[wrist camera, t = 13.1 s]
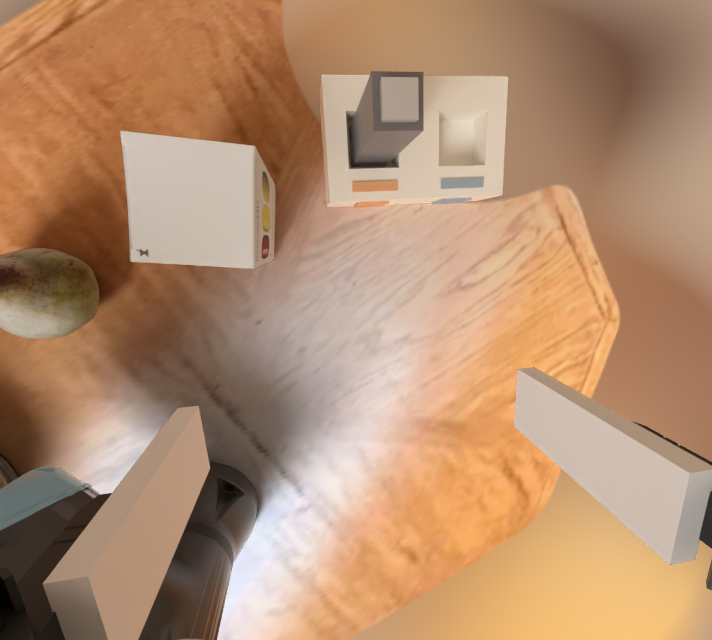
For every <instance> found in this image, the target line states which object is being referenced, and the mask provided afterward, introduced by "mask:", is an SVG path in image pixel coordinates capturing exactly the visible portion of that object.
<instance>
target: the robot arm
mask: <svg viewBox="0 0 712 640" xmlns="http://www.w3.org/2000/svg"><path fill="white" fill-rule="evenodd" d="M514 427H515V428H517V429H518V430H519V431H520V432H521V433H522V434H523V435H524V436H526V437H527V438H528V439H529V440H530V441H531V442H532V443H533V444H535V445H536V446H537V447H538V448H539V449H540V450H541V451H542V452H544V453H545V454H546V455H547V456H548V457H549V458H550V459H551V460H553V461H554V462H555V463H556V464H557V465H558V466H559V467H560V468H561V469H563V470H564V471H565V472H566V473H567V474H568V475H569V476H571V477H572V478H573V479H574V480H575V481H576V482H577V483H578V484H579V485H581V486H582V487H583V488H584V489H585V490H586V491H587V492H588V493H590V494H591V495H592V496H593V497H594V498H596V500H597V501H599V502H600V503H601V504H602V505H603V506H604V507H605V508H607V509H608V510H609V511H610V512H611V513H612V514H613V515H614V516H615V517H617V518H618V519H619V520H620V521H621V522H622V523H623V524H624V525H625V526H627V527H628V528H629V529H630V530H631V531H632V532H633V533H635V534H636V535H637V536H638V537H639V538H640V539H641V540H642V541H643V542H645V543H646V544H647V545H648V546H649V547H650V548H651V549H652V550H654V551H655V552H656V553H657V554H658V555H659V556H660V557H661V558H663V559H664V560H665V561H666V562H667V563H668V564H669V565H672V564H677V563H682V562H686V561H691V560H695V558H696V554H697V550H698V546H699V542H700V540H701V541H703V542H704V543H705V544H706V545H708V546H709V547H710V548H712V462H710V461H709V460H707V459H705V458H703V457H701V456H699V455H698V454H696V453H694V452H692V451H690V450H688V449H686V448H685V447H683V446H678V444H677V443H676V442H674V441H672V440H670V439H668V438H664V437H663V436H662V435H661V434H659V433H657V432H655V431H653V430H652V429H650V428H648V427H646V426H644V425H641V424H638V423H636V422H633V421H630V420H628V419H627V418H625V417H623V416H621V415H619V414H618V413H616V412H614V411H612V410H610V409H609V408H607V407H605V406H603V405H601V404H599V403H598V402H596V401H594V400H592V399H590V398H589V397H587V396H585V395H583V394H581V393H580V392H578V391H576V390H574V389H572V388H571V387H569V386H567V385H565V384H563V383H562V382H560V381H558V380H556V379H554V378H553V377H551V376H549V375H547V374H545V373H544V372H542V371H540V370H538V369H536V368H535V367H533V368H524V369H518V377H517V391H516V406H515V420H514ZM91 486H92V485H91V484H89V483H83V482H82V481H80V480H78V479H77V478H75V477H74V476H72V475H71V474H69V473H68V472H66V471H65V470H63V469H61V468H59V467H56V466H42V467H38V468H35V469H33V470H31V471H29V472H27V473H25V474H23V475H22V476H20V477H19V478H17V479H15V480H14V481H12V482H11V483H9V484H7V485H6V486H4V487H3V488H1V489H0V640H217V636H218V632H219V627H220V622H221V618H222V613H223V608H224V603H225V599H226V594H227V589H228V585H229V580H230V575H231V571H232V566H233V562H234V561H235V559H236V558H237V556H238V554H239V553H240V551H241V549H242V548H243V546H244V544H245V542H246V541H247V539H248V538H249V536H250V534H251V532H252V530H253V527H254V524H255V520H256V514H257V508H258V501H257V496H256V492H255V490H254V488H253V486H252V484H251V483H250V482H249V481H248V479H247V478H246V477H245V476H243V475H242V474H241V473H240V472H238V471H236V470H235V469H233V468H231V467H228V466H225V465H222V464H218V463H211V462H209V459H208V453H207V448H206V443H205V437H204V432H203V426H202V421H201V416H200V410H199V406H192V407H183V408H177V409H176V411H175V412H174V413H173V414H172V416H171V417H170V418H169V420H168V421H167V422H166V424H165V425H164V426H163V427H162V429H161V430H160V431H159V433H158V434H157V435H156V437H155V438H154V439H153V441H152V442H151V443H150V444H149V446H148V447H147V448H146V450H145V451H144V452H143V454H142V455H141V456H140V457H139V459H138V460H137V461H136V463H135V464H134V465H133V467H132V468H131V469H130V471H129V472H128V473H127V474H126V476H125V477H124V478H123V480H122V481H121V482H120V484H119V485H118V486H117V487H116V489H115V490H114V491H113V493H109V494H102V495H100V494H99V493H98V492H96V491H95V490H94V489H93V488H91ZM706 584H707V588H708V589H710V590H712V561H711V565H710V568H709V573H708V577H707V580H706Z"/></svg>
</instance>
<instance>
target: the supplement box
mask: <svg viewBox="0 0 712 640" xmlns="http://www.w3.org/2000/svg"><path fill="white" fill-rule="evenodd" d="M120 134H121V142H122V151H123V161H124V171H125V181H126V192H127V204H128V220H129V239H130V261H131V262H144V263H163V264H182V265H198V266H212V267H229V268H248V269H255V268H257V267H259V266H261V265H264V264H266V263H268V262H270V261H273V260H274V246H275V200H276V186H275V184H274V182H273V180H272V178H271V176H270V174H269V172H268V170H267V168H266V166H265V164H264V162H263V160H262V159H261V156H260V155H259V152H258V150H257V148H256V147H255V146H254V145H245V144H236V143H227V142H218V141H208V140H199V139H191V138H182V137H173V136H165V135H156V134H148V133H140V132H132V131H124V130H122V131H120Z"/></svg>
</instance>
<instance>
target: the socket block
mask: <svg viewBox="0 0 712 640" xmlns="http://www.w3.org/2000/svg"><path fill="white" fill-rule="evenodd" d="M369 77H370V75H330V74H322V75H321V85H320V95H319V105H320V119H321V133H322V147H323V162H324V176H325V190H326V204H327V207H346V206H354V208H355V207H378V206H384V205H394V204H417V203H432V204H448V203H461V202H465V201H479V200H483V199H487V198H492V197H496V196H500V195H502V192H503V174H504V154H505V134H506V114H507V94H508V76H432V75H431V76H430V75H423V110H424V131H422V132H421V133H420V134H419V135H418V136H417V137H416V138H415V139H414V140H413V141H412V142H411V143H410V144H409V145H408V146H406V147H405V148H404V149H403V150H402V151H401V152H400V153H399V154H398V155H397V156H396V157H395V158H394V159H393V160H391V161H390V162H389V163H388V164H387V165H386V166H375V167H351V150H350V131H349V128H350V126H351V123H352V121H353V118H354V115H355V113H356V110H357V108H358V105H359V103H360V100H361V97H362V95H363V92H364V90H365V87H366V85H367V82H368V79H369Z"/></svg>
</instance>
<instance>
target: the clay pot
mask: <svg viewBox="0 0 712 640" xmlns="http://www.w3.org/2000/svg"><path fill="white" fill-rule="evenodd" d="M17 478H18V477H17V475H16V474H15V472H14V471H13V469H12V468H11V467H10V465H9V464H8V463H7V462H6V461H5V460H4V459H3V458H2V457H1V456H0V489H1V488H3V487H4V486H6V485H7V484H9V483H11V482H12V481H14V480H15V479H17Z"/></svg>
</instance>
